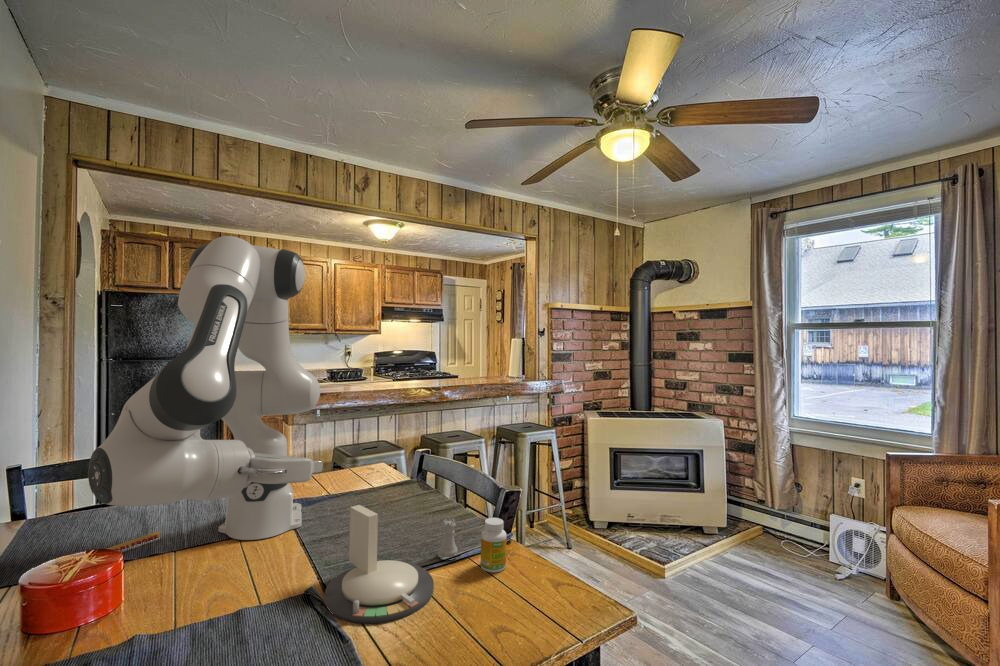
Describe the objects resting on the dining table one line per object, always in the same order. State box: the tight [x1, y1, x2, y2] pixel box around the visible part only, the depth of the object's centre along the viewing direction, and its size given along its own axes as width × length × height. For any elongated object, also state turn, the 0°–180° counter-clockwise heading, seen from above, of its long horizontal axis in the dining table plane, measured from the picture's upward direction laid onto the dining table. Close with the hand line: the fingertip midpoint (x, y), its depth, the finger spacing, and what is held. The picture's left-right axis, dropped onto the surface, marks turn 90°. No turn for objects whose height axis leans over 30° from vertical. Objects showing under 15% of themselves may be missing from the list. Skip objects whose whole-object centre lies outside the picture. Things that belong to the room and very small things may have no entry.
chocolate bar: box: [105, 530, 162, 551], centre depth 104 cm, size 3×12×2 cm, turn 155°
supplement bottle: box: [480, 517, 508, 573], centre depth 100 cm, size 5×5×10 cm
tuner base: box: [323, 561, 435, 625], centre depth 89 cm, size 20×20×3 cm
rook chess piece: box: [437, 518, 459, 557], centre depth 104 cm, size 4×4×8 cm
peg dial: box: [342, 504, 418, 605], centre depth 89 cm, size 20×14×12 cm
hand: (304, 464), depth 84 cm, fingers open, 8 cm apart
